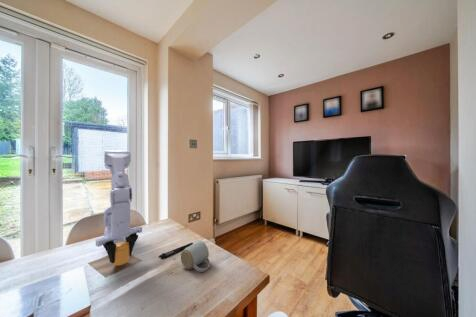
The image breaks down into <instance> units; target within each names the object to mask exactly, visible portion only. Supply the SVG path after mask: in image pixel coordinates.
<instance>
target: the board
mask: <svg viewBox="0 0 476 317" xmlns="http://www.w3.org/2000/svg"><path fill="white" fill-rule="evenodd" d="M140 262H143V260H142V259H141V258H139V257H137V256H135V255H133V254H132V253H131V256H129V261H128V262H127V263H124V264H122V265H116V266H114V265H113V264H112V263H111V262H110V260H109V256H108V255H105V256H103V257H100V258H98V259H95V260H92V261H89V262H88V263H87V264H88V265H89V266H90V267H92V268H93V269H94V270H96V272H98V273H99V274H100V275H101V276H103V277H104V278H105V279H106V278H108V277H110V276H113V275H114V274H117V273H119V272H121V271H123V270H125V269H128V268H129V267H131V266H134V265H136V264H139V263H140Z"/></svg>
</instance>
